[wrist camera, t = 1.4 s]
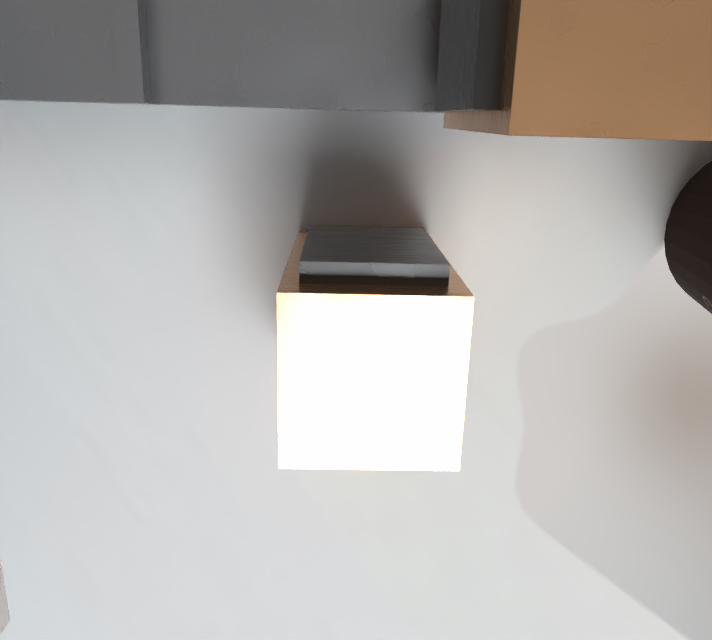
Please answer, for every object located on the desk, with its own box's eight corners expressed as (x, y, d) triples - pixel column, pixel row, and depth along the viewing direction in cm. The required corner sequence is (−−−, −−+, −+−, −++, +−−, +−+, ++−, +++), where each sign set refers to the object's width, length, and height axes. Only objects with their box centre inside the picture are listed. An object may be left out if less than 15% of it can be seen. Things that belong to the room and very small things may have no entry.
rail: (-50, 113, 23) (-369, 111, 13) (-74, -43, 22) (-456, -189, 11) (610, 131, 24) (818, 144, 14) (631, -19, 23) (882, -135, 12)
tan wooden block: (421, 356, 27) (459, 470, 18) (298, 354, 26) (278, 469, 18) (429, 219, 25) (476, 273, 16) (298, 216, 25) (276, 269, 16)
